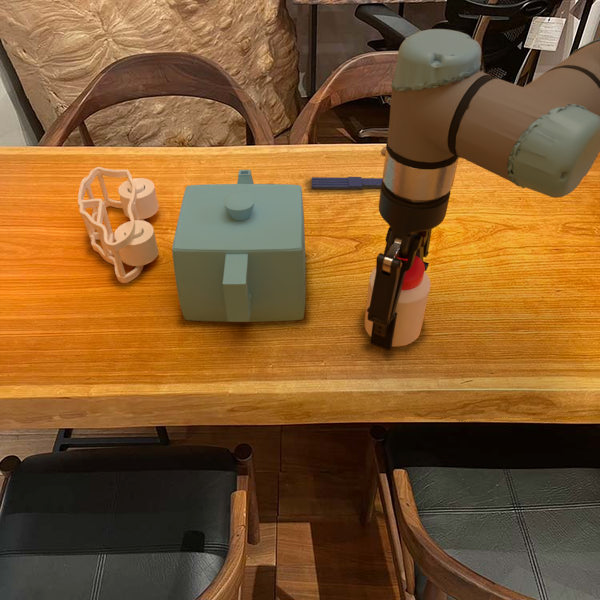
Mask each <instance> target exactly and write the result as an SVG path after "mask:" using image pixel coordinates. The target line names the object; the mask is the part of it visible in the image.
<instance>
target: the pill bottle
mask: <svg viewBox="0 0 600 600" xmlns="http://www.w3.org/2000/svg"><path fill="white" fill-rule="evenodd" d="M398 259H401V260H404V261H408V259H402V258H399V257H398ZM423 261H424V260H423ZM423 261H422V260H421V259H420V258H419V257H417V256H416V255H415V259H414V262H413V266H412V267H411V268H410V269H409V270H408V271H407V272H406V275H405V279H404V282H403V286H402V289H401V293H400V296H399V300H398V303H397V307H396V310H395V313H397V318H396V323H395V329H394V335H393V340H392V346H391V347H394V348H395V347H403V346H404V347H405V346H407V345H410V344H412V343H413V342H415V341H417V339H418V338H419V336H420V335H421V332H422V327H423V323H424V320H425V319H424V318H425V314H426V310H427V305H428V301H429V297H430V291H431V286H432V285H431V279H430V277H429V275H428V273H427V272H426V271H425V266H424V263H423ZM375 275H376V267H374V268H373V269H372V270H371V273H370V274H369V280H368V286H367V287H368V288H367V295H366V296H367V297H366V305H365V313H364V323H363V324H364V328H365V329H364V330H365V331H366V333H367V334H368V336H369V337H370V338H371V334H372V326H373V322H372V321H369V320H367V318H368V317H367V316H368V312H367V309H368V308H369V307H370V302H371V296H372V291H373V286H374V280H375Z"/></svg>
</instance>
